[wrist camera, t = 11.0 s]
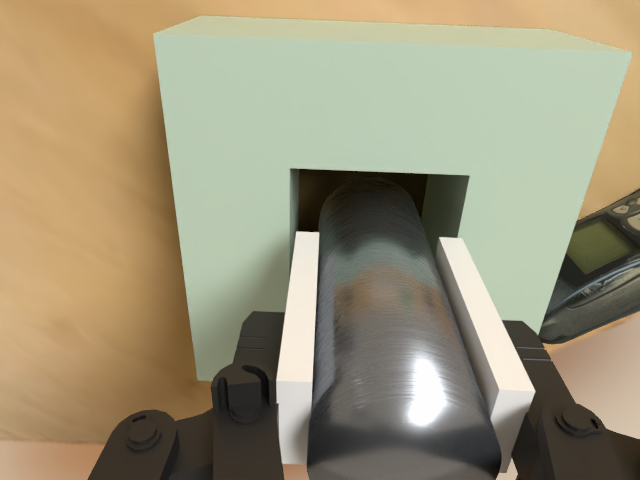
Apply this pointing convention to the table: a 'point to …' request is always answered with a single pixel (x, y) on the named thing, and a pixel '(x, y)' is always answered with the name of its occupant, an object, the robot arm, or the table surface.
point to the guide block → (376, 147)
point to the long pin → (389, 351)
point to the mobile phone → (597, 273)
